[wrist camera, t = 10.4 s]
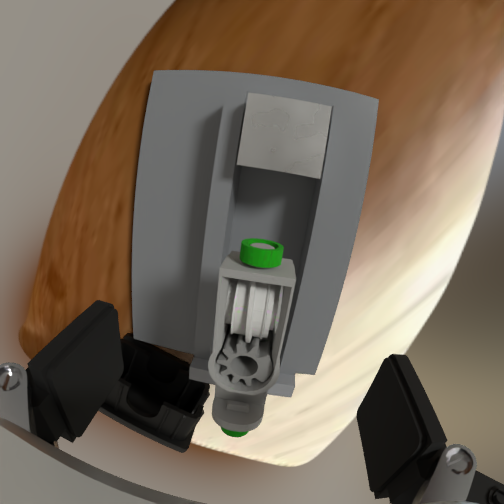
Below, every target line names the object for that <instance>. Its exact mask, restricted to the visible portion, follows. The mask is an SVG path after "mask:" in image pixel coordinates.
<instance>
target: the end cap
mask: <svg viewBox="0 0 504 504" xmlns="http://www.w3.org/2000/svg"><path fill="white" fill-rule="evenodd" d="M120 341H121V350H122V357H123V364H124V370H123V373H122V375H121V377H120V378H119V380H118V381H117V383H116V384H115V386H114V387H113V389H112V390H111V392H110V393H109V395H108V396H107V398H106V399H105V401H104V402H103V404H102V405H101V407H100V408H99V410H98V411H100V412H101V413H103V414H105V415H106V416H108V417H110V418H112V419H113V420H115V421H117V422H119V423H120V424H122V425H124V426H126V427H128V428H130V429H132V430H134V431H136V432H137V433H139V434H141V435H144V436H146V437H148V438H150V439H152V440H154V441H156V442H158V443H160V444H162V445H165V446H167V447H169V448H172V449H174V450H176V451H179V452H181V453H183V452H185V451H186V450H187V449H188V448H189V445H190V442H191V439H192V435H193V432H194V429H195V426H196V424H197V423H198V421H199V420H200V418H201V417H202V415H203V414H204V410H203V407H204V406H203V405H204V403H205V402H206V400H207V398H208V397H209V395H210V393H209V388H210V385H209V383H204V382H200V381H196V380H192V379H189V370H190V365H191V364H189V363H187V362H185V361H183V360H181V359H179V358H177V357H175V356H173V355H171V354H169V353H167V352H165V351H163V350H161V349H159V348H157V347H156V346H154V345H152V344H150V343H147V342H144V341H140V340H137V339H134V335H133V334H132V333H128V334H127V335H126V336H125V337H124V339H121V340H120Z"/></svg>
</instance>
